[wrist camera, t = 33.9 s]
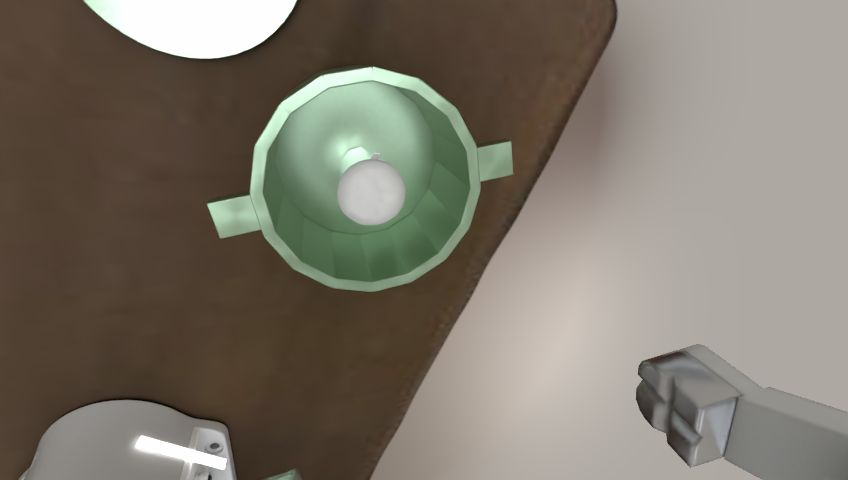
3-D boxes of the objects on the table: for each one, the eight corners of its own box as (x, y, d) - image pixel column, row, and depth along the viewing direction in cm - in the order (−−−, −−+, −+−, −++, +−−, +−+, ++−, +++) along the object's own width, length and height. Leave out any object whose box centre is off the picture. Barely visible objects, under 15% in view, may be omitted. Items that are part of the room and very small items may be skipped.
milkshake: (388, 130, 35) (415, 154, 26) (385, 192, 37) (408, 235, 28) (332, 126, 34) (339, 151, 25) (332, 191, 36) (338, 236, 27)
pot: (477, 213, 40) (521, 254, 32) (263, 263, 37) (249, 323, 29) (461, 47, 34) (510, 42, 26) (203, 89, 31) (161, 100, 23)
